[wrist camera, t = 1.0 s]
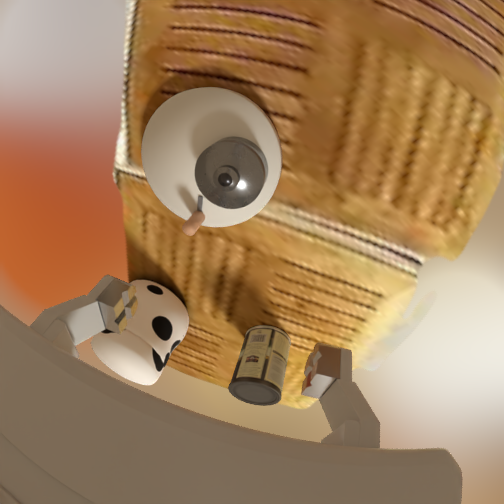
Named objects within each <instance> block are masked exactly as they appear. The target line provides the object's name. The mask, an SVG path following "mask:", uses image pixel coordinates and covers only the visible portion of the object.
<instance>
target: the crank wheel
mask: <svg viewBox="0 0 504 504" xmlns="http://www.w3.org/2000/svg"><path fill="white" fill-rule="evenodd" d="M232 136H236V137H242V138H245V139H248V140H250V141H252V142H253V143H255V144H256V145H257V146H258V147H259V148H260V149H261V150H262V152H263V153H264V155H265V157H266V159H267V163H268V177H267V180H266V182H265V184H264V186H263V188H262V190H261V192H260V194H259V195H258V197H257V198H256V199H255V200H254V201H253V202H252V203H251V204H249V205H247V206H245V207H242V208H238V209H226V208H222V207H219V206H217V205H215V204H213V203H211V202H210V201H209V200H207V199H206V198H205V197H204V196H203V194H202V193H201V192H200V190H199V188H198V186H197V184H196V180H195V174H194V173H195V165H196V161H197V159H198V157H199V156H200V154H201V153H202V152H203V151H204V150H205V149H206V148H208V147H209V146H211V145H212V144H214V143H215V142H217V141H218V140H220V139H223V138H226V137H232ZM141 152H142V163H143V168H144V172H145V175H146V178H147V180H148V183H149V184H150V186H151V188H152V190H153V191H154V193H155V194H156V196H157V197H158V198H159V199H160V201H161V202H162V203H163V204H164V205H165V206H166V207H167V208H168V209H170V210H171V211H172V212H174V213H175V214H176V215H178V216H180V217H181V218H183V219H185V220H187V221H186V222H185V224H184V225H183V227H182V229H183V231H184V233H185V234H187V235H193V234H194V233H195V232H196V231H197V229H198V228H199V227H200V225H203V226H209V227H225V226H232V225H235V224H239V223H241V222H244V221H246V220H248V219H249V218H251V217H253V216H254V215H256V214H257V213H258V212H259V211H260V210H261V209H262V208H263V207H264V206H265V205H266V204H267V203H268V201H269V200H270V198H271V197H272V195H273V193H274V191H275V189H276V186H277V184H278V181H279V178H280V175H281V169H282V149H281V144H280V140H279V136H278V134H277V131H276V129H275V127H274V125H273V124H272V122H271V120H270V119H269V117H268V116H267V115H266V113H265V112H264V111H263V110H262V109H261V108H260V107H259V106H258V105H257V104H256V103H254V102H253V101H252V100H250V99H249V98H247V97H245V96H244V95H242V94H240V93H237V92H235V91H232V90H229V89H224V88H219V87H203V88H195V89H191V90H186V91H183V92H181V93H178V94H176V95H174V96H173V97H171V98H169V99H168V100H167V101H165V102H164V103H163V104H162V105H161V106H160V107H159V108H158V109H157V110H156V111H155V112H154V114H153V115H152V117H151V118H150V120H149V122H148V124H147V126H146V129H145V132H144V135H143V140H142V149H141Z"/></svg>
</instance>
